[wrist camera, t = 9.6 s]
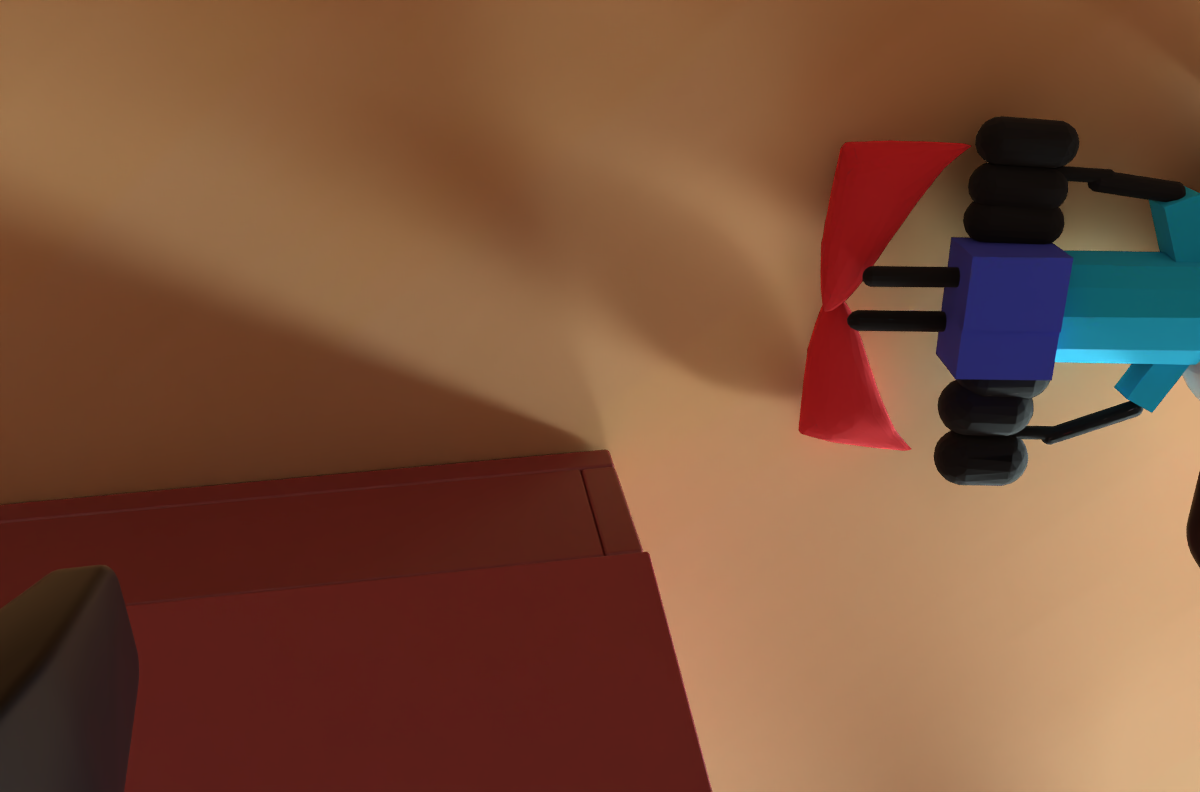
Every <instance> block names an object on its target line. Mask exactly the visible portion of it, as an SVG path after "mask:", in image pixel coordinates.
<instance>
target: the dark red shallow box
mask: <svg viewBox="0 0 1200 792" xmlns="http://www.w3.org/2000/svg"><path fill="white" fill-rule="evenodd" d="M639 552H643V549H642V546H641V543H640V540H639V537H638V534H637V532H636V529H635V526H634V523H633V520H632V517H631V514H630V511H629V508H628V505H627V502H626V499H625V496H624V493H623V490H622V487H621V484H620V481H619V478H618V475H617V472H616V470H615V468H614V464H613V461H612V458H611V455H610V452H609V451H608V450H595V451H584V452H574V453H563V454H552V455H541V456H530V457H519V458H508V459H497V460H486V461H475V462H464V463H453V464H442V465H431V466H420V467H409V468H398V469H387V470H376V471H365V472H354V473H343V474H332V475H321V476H310V477H299V478H288V479H277V480H266V481H255V482H244V483H234V484H223V485H212V486H201V487H190V488H179V489H168V490H157V491H146V492H135V493H124V494H113V495H102V496H91V497H80V498H69V499H58V500H47V501H36V502H25V503H14V504H3V505H0V609H1V608H2V607H4V606H5V605H6V604H8V603H9V602H10V601H12V600H13V599H14V598H16V597H17V596H19V595H20V594H21V593H23V592H24V591H25V590H27V589H28V588H29V587H31V586H32V585H34V584H35V583H36V582H38V581H39V580H40V579H42V578H43V577H44V576H46V575H47V574H49V573H50V572H52V571H55V570H58V569H65V568H74V567H83V566H93V565H106V566H108V567H110V568H111V569H112V570H113V571H114V572H115V574H116V576H117V578H118V580H119V583H120V587H121V591H122V594H123V598H124V602H125V606H129V605H138V604H148V603H158V602H167V601H177V600H186V599H196V598H206V597H215V596H225V595H235V594H244V593H254V592H263V591H273V590H283V589H292V588H302V587H312V586H321V585H331V584H340V583H350V582H360V581H369V580H379V579H389V578H398V577H408V576H417V575H427V574H437V573H446V572H456V571H465V570H475V569H485V568H494V567H504V566H514V565H523V564H533V563H542V562H552V561H562V560H571V559H581V558H591V557H600V556H610V555H619V554H629V553H639Z"/></svg>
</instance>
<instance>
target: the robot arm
mask: <svg viewBox="0 0 1200 792" xmlns="http://www.w3.org/2000/svg"><path fill="white" fill-rule="evenodd" d="M1187 541H1188V546H1189V549H1190V551H1191V554H1192V556H1193V558H1194V559H1195V561H1196V563H1197V564H1198V566H1199V567H1200V472H1199V476H1198V480H1197V484H1196V489H1195V493H1194V497H1193V501H1192V505H1191V509H1190V514H1189V518H1188V522H1187ZM138 684H139V659H138V652H137V648H136V644H135V640H134V636H133V632H132V628H131V625H130V621H129V617H128V613H127V609H126V606H125V602H124V598H123V594H122V591H121V587H120V583H119V580H118V578H117V576H116V574H115V572H114V571H113V570H112V569H111V568H110V567H108V566H106V565H93V566H83V567H74V568H65V569H58V570H55V571H52V572H50V573H49V574H47V575H46V576H44V577H43V578H42V579H40V580H39V581H38V582H36V583H35V584H34V585H32V586H31V587H29V588H28V589H27V590H25V591H24V592H23V593H21V594H20V595H19V596H17V597H16V598H14V599H13V600H12V601H10V602H9V603H8V604H6V605H5V606H4V607H2V608H1V609H0V792H124V789H125V781H126V774H127V767H128V759H129V752H130V744H131V737H132V729H133V722H134V714H135V707H136V699H137V692H138Z"/></svg>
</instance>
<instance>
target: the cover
mask: <svg viewBox="0 0 1200 792" xmlns="http://www.w3.org/2000/svg"><path fill="white" fill-rule="evenodd" d="M126 609H127V613H128V617H129V621H130V625H131V628H132V632H133V636H134V640H135V644H136V648H137V652H138V659H139V684H138V692H137V699H136V707H135V714H134V722H133V729H132V737H131V744H130V752H129V759H128V767H127V774H126V781H125V789H124V792H712V788H711V784H710V781H709V777H708V773H707V769H706V766H705V762H704V758H703V754H702V750H701V747H700V743H699V739H698V735H697V732H696V728H695V724H694V720H693V717H692V713H691V709H690V705H689V701H688V698H687V694H686V690H685V686H684V683H683V679H682V675H681V671H680V667H679V664H678V660H677V656H676V652H675V649H674V645H673V641H672V637H671V633H670V630H669V626H668V622H667V618H666V615H665V611H664V607H663V603H662V600H661V596H660V592H659V588H658V584H657V581H656V577H655V573H654V569H653V566H652V562H651V558H650V554H649V553H648V552H639V553H629V554H619V555H610V556H600V557H591V558H581V559H571V560H562V561H552V562H542V563H533V564H523V565H514V566H504V567H494V568H485V569H475V570H465V571H456V572H446V573H437V574H427V575H417V576H408V577H398V578H389V579H379V580H369V581H360V582H350V583H340V584H331V585H321V586H312V587H302V588H292V589H283V590H273V591H263V592H254V593H244V594H235V595H225V596H215V597H206V598H196V599H186V600H177V601H167V602H158V603H148V604H138V605H129V606H126Z"/></svg>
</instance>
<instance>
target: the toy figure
mask: <svg viewBox="0 0 1200 792" xmlns="http://www.w3.org/2000/svg"><path fill="white" fill-rule="evenodd" d="M975 145H976V149H977V152H978V154H979V155H980V156H981V157H982V158H983V160H985V161H987V162H989V163H986V164H983V165H981V166H980V167H978V168H977V169H976V170H975V171H974V172H973V174H972V175H971V177H970V179H969V185H968V189H969V194H970V196H971V198H972V200H973V201H974V202H972V203H971V204H970V205H969V207H968V208H967V210H966V212H965V213H964V219H963V222H964V226H965V230H966V232H967V233H968V235H969V236H970V237H971V238H968V237H951V245H950V253H949V261H948V267H899V266H873V265H874V264H875V262H876V261H877V259H878V258H879V256H880V255H881V254H882V252H883V251H884V249H885V248H886V246H887V245H888V243H889V242H890V240H891V239H892V238H893V236H894V235H895V233H896V232H897V230H898V229H899V228H900V226H901V225H902V224H903V222H904V221H905V219H906V218H907V216H908V215H909V213H910V212H911V211H912V209H913V208H914V206H915V205H916V204H917V202H918V201H919V200H920V198H921V197H922V196H923V194H924V193H925V192H926V190H927V189H928V188H929V187H930V186H931V185H932V183H933V182H934V180H935V179H936V178H937V177H938V175H939V174H940V173H941V172H942V170H943V169H944V168H945V167H946V166H947V165H949V164H950V163H951V162H952V161H953V160H954V159H956V158H957V157H958V156H959V155H961V154H962V153H963V152H964V151H966V150H967V149H968V148H970V147H971V145H968V144H963V143H946V142H926V141H892V140H888V141H866V142H845V143H844V144H843V145H842V147H841V149H840V153H839V158H838V162H837V166H836V171H835V175H834V180H833V185H832V190H831V195H830V200H829V205H828V211H827V216H826V220H825V226H824V233H823V239H822V242H821V294H822V304H823V305H822V307H821V310H820V312H819V315H818V318H817V321H816V323H815V326H814V330H813V333H812V336H811V339H810V343H809V346H808V349H807V359H806V365H805V372H804V380H803V392H802V400H801V409H800V420H799V431H800V433H801V434H804V435H807V436H811V437H814V438H818V439H822V440H826V441H830V442H835V443H842V444H850V445H857V446H864V447H873V448H883V449H892V450H901V451H906V450H911V448H910V447H909V446H908V445H907V444H906V442H905V441H904V440H903V439H902V438H901V437H900V435H899V434H898V433H897V431H896V430H895V429H894V427H893V424H892V422H891V420H890V418H889V415H888V413H887V411H886V408H885V406H884V404H883V402H882V399H881V397H880V394H879V391H878V388H877V385H876V382H875V379H874V376H873V373H872V370H871V368H870V365H869V362H868V358H867V355H866V352H865V349H864V346H863V343H862V339H861V336H860V334H859V331H921V332H939V333H938V341H937V349H936V354H937V356H938V357H939V358H940V360H941V361H942V362H943V363H944V365H945V366H946V367H947V369H948V370H949V371H950V373H951V374H952V375H953V377H954V378H955V379H956V380H955V381H953V382H951V383H950V384H949V385H947V386H946V387H945V389H944V390H943V391H942V393H941V395H940V397H939V399H938V412H939V415H940V418H941V420H942V421H943V423H944V424H945V426H946V427H948V428H949V429H950V430H951V431H949V432H948V433H946V434H945V435H944V436H943V437H941V438H940V440H939V441H938V442H937V445H936V447H935V452H934V461H935V465H936V467H937V470H938V472H939V473H940V474H941V475H942V476H943V477H944V478H945V479H946V480H948V481H950V482H952V483H955V484H958V485H989V486H1002V485H1006V484H1010V483H1012V482H1014V481H1016V480H1017V479H1018V478H1019V477H1020V476H1021V475H1022V474H1023V472H1024V471H1025V469H1026V467H1027V463H1028V453H1027V449H1026V446H1025V444H1024V443H1023V441H1022V440H1021V439H1042V441H1043V442H1044V443H1046V444H1054V443H1057V442H1060V441H1063V440H1066V439H1069V438H1072V437H1075V436H1078V435H1082V434H1085V433H1088V432H1091V431H1094V430H1097V429H1100V428H1103V427H1106V426H1109V425H1112V424H1115V423H1118V422H1121V421H1124V420H1127V419H1130V418H1134V417H1137V416H1138V415H1140V414H1141V412H1142V411H1143V408H1144V409H1146V410H1148V411H1150V412H1153V411H1154V410H1155V408H1156V407H1157V406H1158V405H1159V403H1160V402H1161V401H1162V400H1163V398H1164V397H1165V396H1166V394H1167V393H1168V392H1169V391H1170V389H1171V388H1172V387H1173V386H1174V384H1175V383H1176V382H1177V381H1178V379H1179V378H1180V377H1181V375H1182V376H1183V378H1184V380H1185V382H1186V384H1187V386H1188V387H1189V389H1190V390H1191V391H1192V392H1193V394H1194V395H1195V396H1196V397H1197V398H1198V399H1199V400H1200V193H1199V192H1196V191H1194V190H1192V189H1190V188H1187V187H1185V186H1184V185H1183V184H1182V183H1180V182H1175V181H1169V180H1162V179H1156V178H1149V177H1143V176H1136V175H1130V174H1123V173H1116V172H1114V171H1113V170H1111V169H1097V168H1083V167H1069V166H1065V165H1066V164H1068V163H1069V162H1070V161H1071V160H1072V159H1073V158H1074V157H1075V156H1076V153H1077V151H1078V148H1079V137H1078V134H1077V132H1076V130H1075V128H1073V127H1072V126H1071V125H1070V124H1069V123H1066V122H1064V121H1057V120H1043V119H1030V118H1017V117H1004V116H1000V117H994V118H992V119H990V120H988V121H986V122H985V123H984V124H983V125H982V126H981V127H980V129H979V131H978V133H977V135H976V141H975ZM1068 181H1074V182H1087V184H1088V187H1089V188H1090V189H1091V190H1092V191H1095V192H1101V193H1108V194H1115V195H1121V196H1128V197H1134V198H1141V199H1147V200H1149V204H1150V208H1151V213H1152V217H1153V222H1154V227H1155V231H1156V236H1157V241H1158V245H1159V250H1160V252H1132V251H1063V250H1062V249H1060V248H1059V247H1057V246H1056V245H1055V244H1053V243H1052V242H1054V241H1055V240H1056V239H1057V238H1059V236H1060V235H1061V233H1062V231H1063V228H1064V216H1063V213H1062V211H1061V209H1060V208H1059V206H1060V205H1061V204H1062V203H1063V202H1064V200H1065V199H1066V197H1067V193H1068ZM862 281H864V283H865V284H866V285H868V286H870V287H944V294H943V302H942V310H941V311H877V310H857V311H854V312H851V310H850V309H849V307H848V305H847V304H846V303H845V301H846V300H847V299H848V298H849V297H850V295H851V294H852V293H853V292H854V291H855V290H856V289H857V288H858V286H859V285H860V284H861V283H862ZM1055 362H1075V363H1125V364H1131V366H1130V367H1129V368H1128V370H1127V371H1126V372H1125V374H1124V375H1123V376H1122V377H1121V379H1120V380H1119V381H1118V383H1117V384H1116V385H1115V387H1114V388H1116V389H1117V390H1118V391H1119V392H1120V393H1121V394H1122V395H1123V396H1124V397H1125V398H1126V399H1128V400H1130V401H1129V402H1126V403H1123V404H1120V405H1117V406H1113V407H1110V408H1107V409H1104V410H1101V411H1098V412H1095V413H1092V414H1089V415H1086V416H1083V417H1080V418H1077V419H1074V420H1071V421H1068V422H1065V423H1062V424H1059V425H1056V426H1026V425H1027V424H1028V423H1029V421H1030V419H1031V417H1032V416H1033V400H1032V398H1033V397H1035V396H1037V395H1039V394H1040V393H1042V392H1043V391H1044V389H1045V388H1046V387H1047V385H1048V384H1049V382H1050V380H1052V375H1053V369H1054V363H1055Z"/></svg>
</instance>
